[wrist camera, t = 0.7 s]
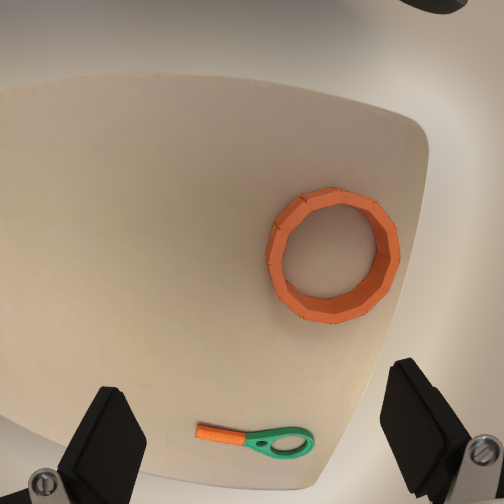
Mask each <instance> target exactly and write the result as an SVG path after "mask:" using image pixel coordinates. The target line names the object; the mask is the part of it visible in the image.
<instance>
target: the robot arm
mask: <svg viewBox="0 0 504 504" xmlns="http://www.w3.org/2000/svg"><path fill="white" fill-rule="evenodd" d="M380 424H381V427H382V429H383V431H384V434H385V435H386V438H387V440H388V443H389V445H390V447H391V449H392V452H393V454H394V456H395V458H396V461H397V464H398V466H399V468H400V471H401V473H402V475H403V478H404V480H405V483H406V485H407V488H408V490H409V492H410V493H411V494H412V493H415V495H416V498H419V497H422V496H424V495H428V498H429V500H430V501H431V502H430V504H504V449H503V446H502V443H501V442H500V441H499V439H497V438H496V437H494V436H491V435H487V434H482V435H479V436H476V437H474V438H473V439H472V438H471V436H470V435H469V433H468V432H467V430H466V429H465V428H464V426H463V424H462V423H461V421H460V420H459V418H458V417H457V416H456V414H455V413H454V411H453V410H452V408H451V407H450V405H449V404H448V403H447V401H446V400H445V398H444V397H443V396H442V394H441V393H440V391H439V390H438V389H437V388H436V387H433V386H432V385H431V383H430V382H429V381H428V379H427V378H426V377H425V375H424V374H423V372H422V371H421V370H420V368H419V367H418V365H417V364H416V363H415V361H414V360H413V359H412V358H407V359H402V360H399V361H396V362H395V363H394V366H392V367H390V370H389V376H388V381H387V386H386V391H385V396H384V401H383V405H382V410H381V414H380ZM146 445H147V441H146V437H145V435H144V433H143V431H142V430H141V428H140V426H139V424H138V422H137V420H136V418H135V416H134V414H133V412H132V410H131V408H130V406H129V404H128V402H127V400H126V398H125V396H124V394H123V392H121V391H119V389H118V388H116V387H104V386H103V387H101V388H100V389H99V391H98V393H97V394H96V396H95V398H94V400H93V401H92V403H91V405H90V407H89V408H88V410H87V412H86V414H85V416H84V417H83V419H82V421H81V423H80V425H79V427H78V428H77V430H76V432H75V434H74V436H73V438H72V440H71V441H70V443H69V445H68V447H67V449H66V451H65V453H64V455H63V457H62V459H61V461H60V463H59V465H58V470H57V472H56V471H55V470H53V469H50V468H42V469H39V470H37V471H35V472H34V473H33V474H32V475H31V477H30V478H29V482H28V488H26V489H24V490H21V491H18V492H15V493H13V494H9V495H6V496H3V497H0V504H129V502H130V499H131V495H132V492H133V488H134V485H135V481H136V478H137V475H138V471H139V468H140V465H141V461H142V458H143V455H144V452H145V448H146Z"/></svg>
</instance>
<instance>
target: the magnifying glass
mask: <svg viewBox="0 0 504 504" xmlns="http://www.w3.org/2000/svg"><path fill="white" fill-rule="evenodd" d="M286 436H300V437H303V438H305V439H306V443H305V444H304V445H303V446H302V447H301V448H299V449H297V450H295V451H291V452H278V451H275V450H273V449H272V448H271V447H270V446H271V444H272V443H273V442H274V441H276V440H277V439H280V438H282V437H286ZM195 437H196V438H200V439H206V440H211V441H216V442H222V443H228V444H235V445H243V446H245V447H248V448H250V449H253V450H255V451H257V452H260V453H262V454H264V455H267V456H269V457H272V458H275V459H283V460H284V459H294V458H299V457H301V456H304V455H306V454H308V453H309V452H310V451H311V450H312V449H313V447H314V439H313V436H312V434H311V433H310V432H308V431H307V430H304V429H301V428H282V429H276V430H269V431H263V432H255V433H240V432H234V431H228V430H222V429H216V428H211V427H206V426H201V425H198V426H197V429H196V434H195ZM258 441H265V442H263V443H259V442H258Z"/></svg>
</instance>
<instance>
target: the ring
mask: <svg viewBox="0 0 504 504" xmlns="http://www.w3.org/2000/svg"><path fill="white" fill-rule="evenodd" d="M340 203H343V204H346V205H350V206H353V207H356V208H359V210H360V211H361V212H362V213H363V214H364V215H365V216H366V218H367V219H368V220H369V221H370V222H371V223H372V225H373V227H374V233H375V239H376V244H377V253H376V256H375V259H374V262H373V265H372V268H371V271H370V274H369V275H368V276H367V277H366V278H365V279H364V280H363V281H362V282H361V283H360V284H359V285H358V286H357V287H356V288H355V289H354V290H353V291H352V292H350V293H347V294H344V295H341V296H338V297H335V298H332V299H328V300H324V299H319V298H314V297H309V296H303V295H302V294H301V293H300V292H299V291H298V290H296V289H295V288H294V287H293V286H292V285H291V284H290V283H289V282H288V281H287V280H285V277H284V273H283V270H282V266H281V262H282V258H283V255H284V251H285V247H286V244H287V240H288V236H289V234H290V233H291V232H292V231H293V230H294V229H295V228H296V227H297V226H298V225H299V224H300V223H301V222H302V221H303V220H304V219H305V218H306V216H307V215H308V214H309V213H310V212H311V211H315V210H318V209H322V208H325V207H329V206H332V205H336V204H340ZM400 258H401V257H400V249H399V242H398V235H397V228H396V227H395V224H394V223H393V221H392V220H391V219H390V218H389V216H388V215H387V214H386V213H385V212H384V210H383V209H382V208H381V207H380V205H379V204H378V203H377V202H376V201H374V200H373V199H370V198H367V197H364V196H361V195H358V194H355V193H351V192H348V191H345V190H341V189H338V188H334V187H332V188H331V187H329V188H325V189H321V190H318V191H314V192H310V193H307V194H303V195H300V198H299V197H297V198H296V199H295V200H294V201H293V202H292V203H291V204H290V205H289V206H288V207H287V208H286V209H285V210H284V211H283V212H282V213H281V214H280V215H279V216H278V217H277V218H276V219H275V222H273V226H272V230H271V234H270V238H269V242H268V246H267V250H266V259H267V264H268V268H269V271H270V275H271V278H272V281H273V285H274V288H275V292H276V295H277V297H278V298H279V300H281V301H282V302H283V303H284V304H285V305H286V306H287V307H289V308H290V309H291V310H292V311H293V312H294V313H296V314H297V315H298V316H299V317H300V318H303V319H304V320H310V321H316V322H321V323H327V324H333V323H334V324H338V323H341V322H344V321H347V320H350V319H353V318H356V317H359V316H362V315H364V312H365V313H367V312H368V311H369V310H370V309H372V308H373V307H374V306H375V305H376V304H377V303H378V302H379V301H380V300H381V299H382V298H383V297H384V296H385V295H386V294H387V293H388V290H390V288H391V285H392V282H393V280H394V277H395V274H396V271H397V269H398V266H399V263H400V260H399V259H400Z"/></svg>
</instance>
